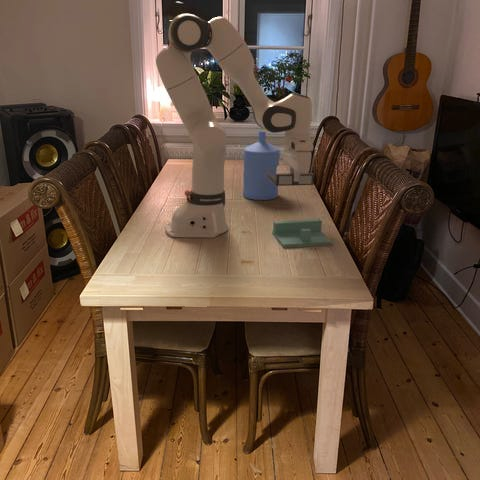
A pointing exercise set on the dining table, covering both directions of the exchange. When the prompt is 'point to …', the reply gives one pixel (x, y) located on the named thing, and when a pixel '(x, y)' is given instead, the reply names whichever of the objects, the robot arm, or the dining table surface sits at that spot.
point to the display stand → (300, 233)
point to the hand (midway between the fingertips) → (294, 180)
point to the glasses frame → (291, 179)
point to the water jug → (260, 169)
